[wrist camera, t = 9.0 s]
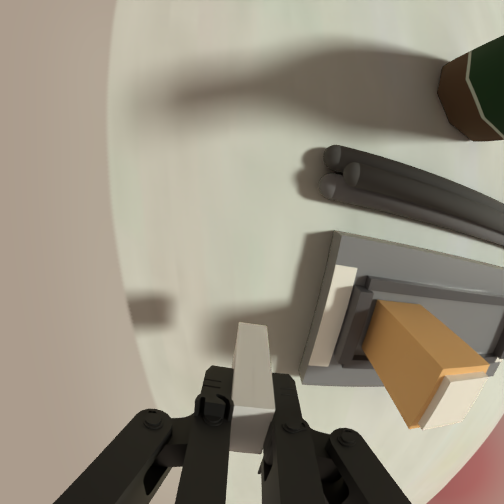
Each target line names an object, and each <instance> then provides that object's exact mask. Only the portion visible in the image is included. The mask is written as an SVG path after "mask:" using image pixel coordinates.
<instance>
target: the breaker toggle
mask: <svg viewBox="0 0 504 504" xmlns="http://www.w3.org/2000/svg"><path fill="white" fill-rule="evenodd" d="M361 348H362V349H363V351H364V353H365V354H366V356H367V358H368V359H369V361H370V363H371V364H372V366H373V368H374V369H375V371H376V373H377V374H378V376H379V378H380V379H381V381H382V383H383V384H384V386H385V388H386V390H387V391H388V393H389V395H390V396H391V398H392V400H393V402H394V403H395V405H396V407H397V409H398V410H399V412H400V414H401V416H402V417H403V419H404V421H405V423H406V425H407V426H408V428H409V429H412V428H419V427H421V429H422V430H426V429H431V428H436V427H441V426H446V425H451V424H455V423H459V422H462V421H463V419H464V418H465V416H466V415H467V413H468V412H469V410H470V408H471V407H472V405H473V404H474V402H475V400H476V399H477V397H478V395H479V393H480V392H481V390H482V388H483V386H484V385H485V383H486V381H487V379H488V376H487V375H486V372H487V370H488V368H489V366H490V364H489V363H488V362H487V361H486V360H485V359H483V358H482V357H481V356H480V355H479V354H478V353H477V352H476V351H475V350H473V349H472V348H471V347H470V346H469V345H468V344H467V343H465V342H464V341H463V340H462V339H461V338H460V337H459V336H457V335H456V334H455V333H454V332H453V331H452V330H450V329H449V328H448V327H447V326H446V325H444V324H443V323H442V322H441V321H440V320H438V319H437V318H436V317H435V316H434V315H432V314H431V313H430V312H429V311H428V310H426V309H425V308H424V307H423V306H421V305H420V304H412V303H403V302H394V301H386V300H377V302H376V305H375V309H374V312H373V315H372V318H371V321H370V324H369V327H368V330H367V333H366V336H365V339H364V342H363V344H362V347H361Z"/></svg>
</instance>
